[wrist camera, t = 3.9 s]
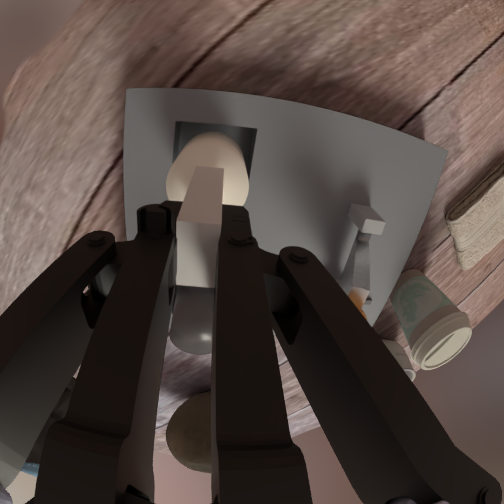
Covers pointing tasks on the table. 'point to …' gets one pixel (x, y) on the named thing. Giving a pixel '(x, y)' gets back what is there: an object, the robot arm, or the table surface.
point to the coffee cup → (429, 320)
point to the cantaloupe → (192, 433)
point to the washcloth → (478, 219)
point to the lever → (357, 271)
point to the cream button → (210, 155)
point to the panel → (293, 174)
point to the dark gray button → (193, 319)
